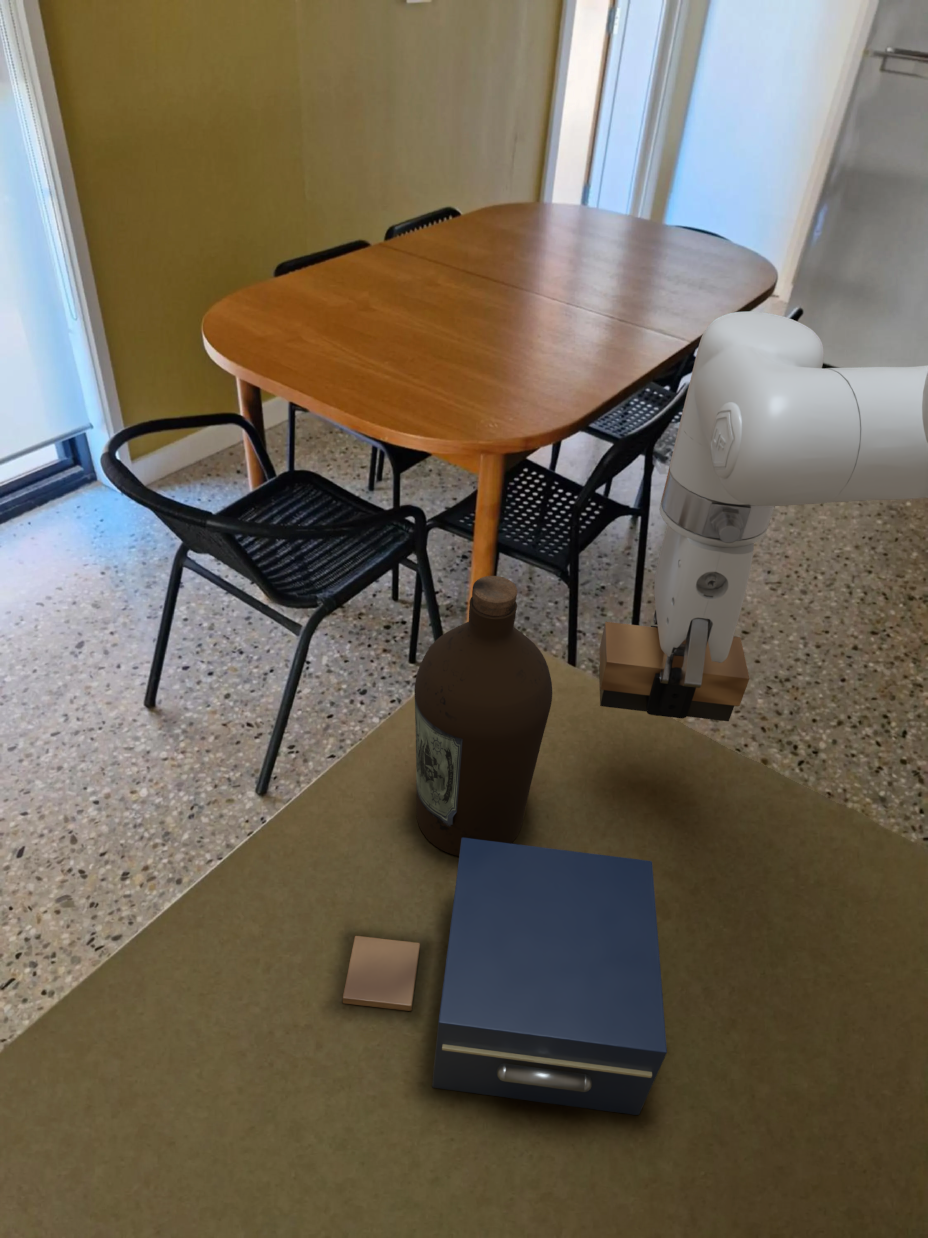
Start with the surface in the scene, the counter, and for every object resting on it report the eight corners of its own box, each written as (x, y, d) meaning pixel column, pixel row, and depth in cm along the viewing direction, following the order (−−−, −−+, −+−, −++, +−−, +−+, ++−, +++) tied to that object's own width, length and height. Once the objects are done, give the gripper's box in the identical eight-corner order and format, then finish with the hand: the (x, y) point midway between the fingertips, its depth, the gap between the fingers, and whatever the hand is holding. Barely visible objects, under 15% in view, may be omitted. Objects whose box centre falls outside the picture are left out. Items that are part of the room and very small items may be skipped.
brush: (725, 681, 75) (740, 637, 72) (733, 724, 71) (749, 678, 68) (595, 666, 75) (605, 621, 72) (596, 707, 72) (606, 661, 68)
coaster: (342, 998, 64) (342, 1003, 64) (411, 1006, 63) (411, 1011, 64) (354, 935, 67) (355, 941, 68) (420, 942, 67) (419, 948, 68)
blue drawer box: (640, 1135, 58) (669, 1073, 53) (429, 1106, 59) (435, 1042, 53) (629, 929, 70) (652, 860, 65) (454, 907, 71) (461, 837, 65)
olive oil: (491, 754, 84) (519, 532, 68) (552, 837, 77) (600, 612, 61) (388, 792, 79) (394, 565, 64) (444, 884, 72) (465, 654, 57)
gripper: (795, 578, 55) (721, 773, 66) (753, 447, 68) (697, 629, 79) (673, 564, 55) (621, 761, 67) (655, 436, 68) (614, 619, 80)
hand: (663, 687), depth 73 cm, fingers closed on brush, 5 cm apart
